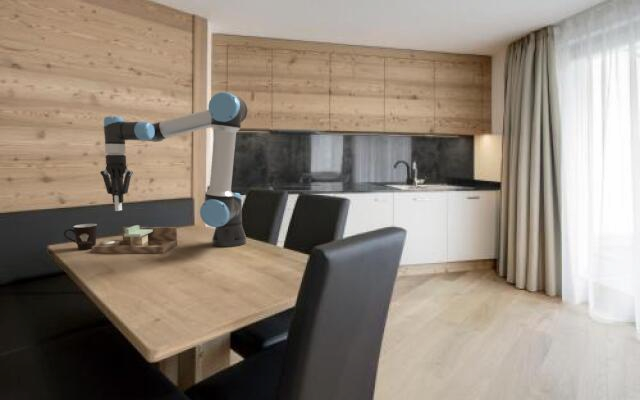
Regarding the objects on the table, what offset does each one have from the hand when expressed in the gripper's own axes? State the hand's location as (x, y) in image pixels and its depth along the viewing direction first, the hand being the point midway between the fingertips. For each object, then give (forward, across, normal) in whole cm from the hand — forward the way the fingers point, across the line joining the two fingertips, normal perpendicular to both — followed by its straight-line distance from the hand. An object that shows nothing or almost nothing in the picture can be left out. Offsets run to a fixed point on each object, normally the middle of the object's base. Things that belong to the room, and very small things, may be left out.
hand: (118, 210), depth 165 cm
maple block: (+17, -8, 0) cm, 19 cm away
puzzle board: (+17, -7, 0) cm, 18 cm away
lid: (+10, -8, 0) cm, 13 cm away
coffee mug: (+17, +17, 0) cm, 24 cm away
